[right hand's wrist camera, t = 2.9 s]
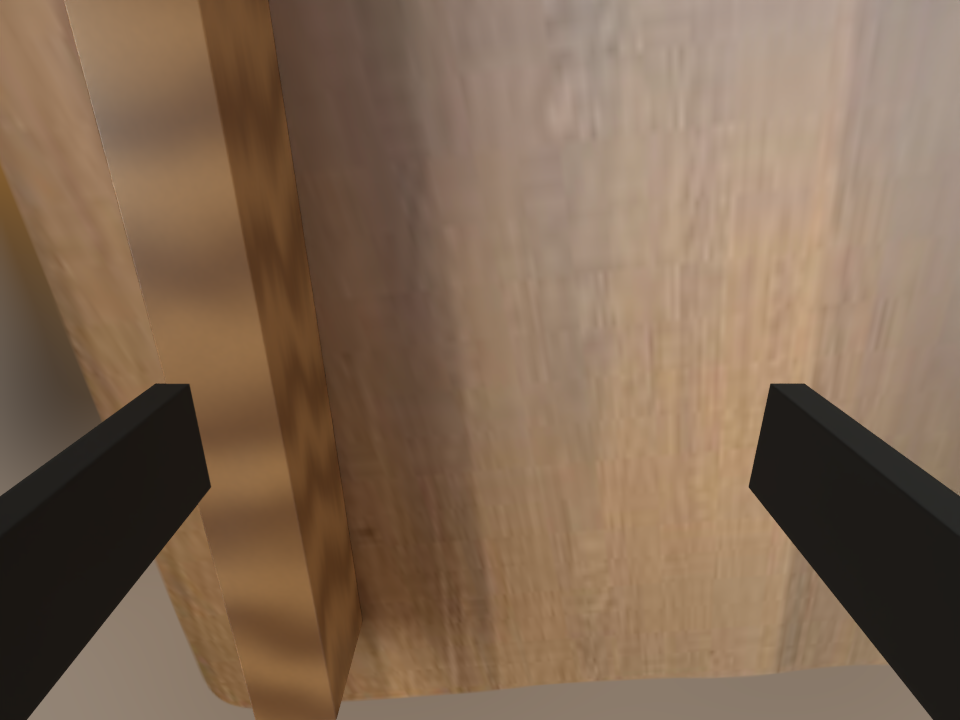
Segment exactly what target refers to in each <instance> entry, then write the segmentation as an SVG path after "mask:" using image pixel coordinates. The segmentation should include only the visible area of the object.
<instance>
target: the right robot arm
mask: <svg viewBox="0 0 960 720" xmlns="http://www.w3.org/2000/svg"><path fill="white" fill-rule="evenodd" d="M210 488H211V483H210V478H209V474H208V469H207V464H206V459H205V455H204V450H203V445H202V440H201V436H200V431H199V426H198V422H197V417H196V412H195V407H194V403H193V398H192V393H191V388H190V384H154V385H153V386H152V387H150V388H149V389H148V390H146V391H145V392H143V393H142V394H141V395H139V396H138V397H137V398H135V399H134V400H132V401H131V402H130V403H128V404H127V405H126V406H124V407H123V408H121V409H120V410H119V411H117V412H116V413H114V414H113V415H112V416H110V417H109V418H108V419H106V420H105V421H103V422H102V423H101V424H99V425H98V426H97V427H95V428H94V429H92V430H91V431H90V432H88V433H87V434H86V435H84V436H83V437H81V438H80V439H79V440H77V441H76V442H74V443H73V444H72V445H70V446H69V447H68V448H66V449H65V450H63V451H62V452H61V453H59V454H58V455H57V456H55V457H54V458H52V459H51V460H50V461H48V462H47V463H46V464H44V465H43V466H41V467H40V468H39V469H37V470H36V471H35V472H33V473H32V474H30V475H29V476H28V477H26V478H25V479H23V480H22V481H21V482H19V483H18V484H17V485H15V486H14V487H12V488H11V489H10V490H8V491H7V492H6V493H4V494H3V495H1V496H0V720H27V719H28V718H29V716H30V715H31V714H32V713H33V711H34V710H35V709H36V707H37V706H38V705H39V704H40V702H41V701H42V700H43V699H44V697H45V696H46V695H47V694H48V692H49V691H50V690H51V689H52V687H53V686H54V685H55V683H56V682H57V681H58V680H59V679H60V677H61V676H62V675H63V673H64V672H65V671H66V670H67V668H68V667H69V666H70V665H71V663H72V662H73V661H74V660H75V658H76V657H77V656H78V654H79V653H80V652H81V651H82V649H83V648H84V647H85V646H86V644H87V643H88V642H89V641H90V639H91V638H92V637H93V636H94V634H95V633H96V632H97V631H98V629H99V628H100V627H101V626H102V624H103V623H104V622H105V621H106V619H107V618H108V617H109V615H110V614H111V613H112V612H113V610H114V609H115V608H116V607H117V605H118V604H119V603H120V602H121V600H122V599H123V598H124V597H125V595H126V594H127V593H128V592H129V590H130V589H131V588H132V586H133V585H134V584H135V583H136V581H137V580H138V579H139V578H140V576H141V575H142V574H143V573H144V571H145V570H146V569H147V568H148V566H149V565H150V564H151V563H152V561H153V560H154V559H155V558H156V556H157V555H158V554H159V552H160V551H161V550H162V549H163V547H164V546H165V545H166V544H167V542H168V541H169V540H170V539H171V537H172V536H173V535H174V534H175V532H176V531H177V530H178V529H179V527H180V526H181V525H182V523H183V522H184V521H185V520H186V518H187V517H188V516H189V515H190V513H191V512H192V511H193V510H194V508H195V507H196V506H197V505H198V503H199V502H200V501H201V500H202V498H203V497H204V496H205V494H206V493H207V492H208V491H209V489H210ZM749 488H750V489H751V491H752V492H753V493H754V494H755V496H756V497H757V498H758V500H759V501H760V502H761V503H762V505H763V506H764V507H765V508H766V510H767V511H768V512H769V513H770V515H771V516H772V517H773V518H774V520H775V521H776V522H777V523H778V525H779V526H780V527H781V529H782V530H783V531H784V532H785V534H786V535H787V536H788V537H789V539H790V540H791V541H792V542H793V544H794V545H795V546H796V547H797V549H798V550H799V551H800V552H801V554H802V555H803V556H804V558H805V559H806V560H807V561H808V563H809V564H810V565H811V566H812V568H813V569H814V570H815V571H816V573H817V574H818V575H819V576H820V578H821V579H822V580H823V581H824V583H825V584H826V585H827V587H828V588H829V589H830V590H831V592H832V593H833V594H834V595H835V597H836V598H837V599H838V600H839V602H840V603H841V604H842V605H843V607H844V608H845V609H846V610H847V612H848V613H849V614H850V615H851V617H852V618H853V619H854V621H855V622H856V623H857V624H858V626H859V627H860V628H861V629H862V631H863V632H864V633H865V634H866V636H867V637H868V638H869V639H870V641H871V642H872V643H873V644H874V646H875V647H876V648H877V650H878V651H879V652H880V653H881V655H882V656H883V657H884V658H885V660H886V661H887V662H888V663H889V665H890V666H891V667H892V668H893V670H894V671H895V672H896V673H897V675H898V676H899V677H900V679H901V680H902V681H903V682H904V684H905V685H906V686H907V687H908V689H909V690H910V691H911V692H912V694H913V695H914V696H915V697H916V699H917V700H918V701H919V702H920V704H921V705H922V706H923V708H924V709H925V710H926V711H927V712H928V714H929V715H930V716H931V718H932V719H933V720H960V496H959V495H957V494H956V493H954V492H953V491H952V490H950V489H949V488H948V487H946V486H945V485H943V484H942V483H941V482H939V481H938V480H937V479H935V478H934V477H932V476H931V475H930V474H928V473H927V472H926V471H924V470H923V469H921V468H920V467H919V466H917V465H916V464H914V463H913V462H912V461H910V460H909V459H908V458H906V457H905V456H903V455H902V454H901V453H899V452H898V451H897V450H895V449H894V448H892V447H891V446H890V445H888V444H887V443H886V442H884V441H883V440H881V439H880V438H879V437H877V436H876V435H874V434H873V433H872V432H870V431H869V430H868V429H866V428H865V427H863V426H862V425H861V424H859V423H858V422H857V421H855V420H854V419H852V418H851V417H850V416H848V415H847V414H846V413H844V412H843V411H841V410H840V409H839V408H837V407H836V406H834V405H833V404H832V403H830V402H829V401H828V400H826V399H825V398H823V397H822V396H821V395H819V394H818V393H817V392H815V391H814V390H812V389H811V388H810V387H808V386H807V385H806V384H770V388H769V393H768V398H767V403H766V407H765V412H764V417H763V422H762V426H761V431H760V436H759V440H758V445H757V450H756V455H755V459H754V464H753V469H752V474H751V478H750V483H749Z"/></svg>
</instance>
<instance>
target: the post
mask: <svg viewBox="0 0 960 720" xmlns="http://www.w3.org/2000/svg"><path fill="white" fill-rule="evenodd" d="M64 3H65V7H66V11H67V14H68V18H69V22H70V26H71V29H72V33H73V37H74V41H75V44H76V48H77V52H78V56H79V59H80V63H81V67H82V71H83V75H84V78H85V82H86V86H87V90H88V93H89V97H90V101H91V105H92V108H93V112H94V116H95V120H96V123H97V127H98V131H99V135H100V138H101V142H102V146H103V150H104V153H105V157H106V161H107V165H108V168H109V172H110V176H111V180H112V183H113V187H114V191H115V195H116V198H117V202H118V206H119V210H120V213H121V217H122V221H123V225H124V228H125V232H126V236H127V240H128V243H129V247H130V251H131V255H132V258H133V262H134V266H135V270H136V273H137V277H138V281H139V285H140V288H141V292H142V296H143V300H144V303H145V307H146V311H147V315H148V318H149V322H150V326H151V330H152V333H153V337H154V341H155V345H156V348H157V352H158V356H159V360H160V363H161V367H162V371H163V375H164V378H165V382H166V384H190V388H191V393H192V398H193V403H194V407H195V412H196V417H197V422H198V426H199V431H200V436H201V440H202V445H203V450H204V455H205V459H206V464H207V469H208V474H209V478H210V483H211V488H210V489H209V491H208V492H207V493H206V494H205V496H204V497H203V498H202V500H201V501H200V502H199V503H198V506H199V510H200V514H201V517H202V521H203V525H204V529H205V532H206V536H207V540H208V544H209V547H210V551H211V555H212V559H213V562H214V566H215V570H216V574H217V577H218V581H219V585H220V589H221V592H222V596H223V600H224V604H225V607H226V611H227V615H228V619H229V622H230V626H231V630H232V634H233V637H234V641H235V645H236V649H237V652H238V656H239V660H240V664H241V667H242V671H243V675H244V679H245V682H246V686H247V690H248V694H249V697H250V701H251V705H252V709H253V712H254V716H255V720H336V719H337V715H338V711H339V708H340V704H341V700H342V696H343V693H344V689H345V685H346V681H347V677H348V674H349V670H350V666H351V662H352V659H353V655H354V651H355V647H356V643H357V640H358V636H359V632H360V628H361V625H362V615H361V608H360V602H359V595H358V588H357V582H356V575H355V569H354V562H353V556H352V549H351V542H350V536H349V529H348V523H347V516H346V510H345V503H344V496H343V490H342V483H341V477H340V470H339V463H338V457H337V450H336V444H335V437H334V431H333V424H332V417H331V411H330V404H329V398H328V391H327V384H326V378H325V371H324V365H323V358H322V352H321V345H320V338H319V332H318V325H317V319H316V312H315V305H314V299H313V292H312V286H311V279H310V273H309V266H308V259H307V253H306V246H305V240H304V233H303V226H302V220H301V213H300V207H299V200H298V194H297V187H296V180H295V174H294V167H293V161H292V154H291V148H290V141H289V134H288V128H287V121H286V115H285V108H284V101H283V95H282V88H281V82H280V75H279V69H278V62H277V55H276V49H275V42H274V36H273V29H272V22H271V16H270V9H269V3H268V0H64Z"/></svg>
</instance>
